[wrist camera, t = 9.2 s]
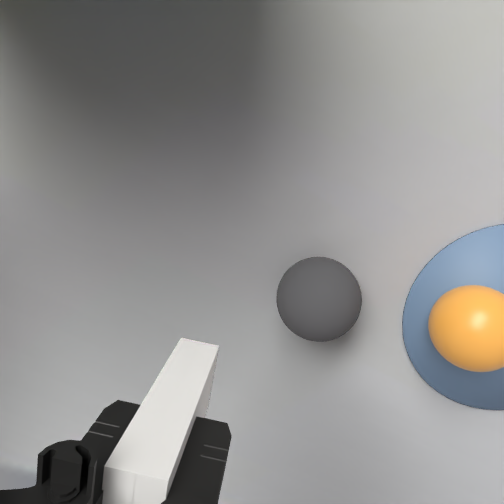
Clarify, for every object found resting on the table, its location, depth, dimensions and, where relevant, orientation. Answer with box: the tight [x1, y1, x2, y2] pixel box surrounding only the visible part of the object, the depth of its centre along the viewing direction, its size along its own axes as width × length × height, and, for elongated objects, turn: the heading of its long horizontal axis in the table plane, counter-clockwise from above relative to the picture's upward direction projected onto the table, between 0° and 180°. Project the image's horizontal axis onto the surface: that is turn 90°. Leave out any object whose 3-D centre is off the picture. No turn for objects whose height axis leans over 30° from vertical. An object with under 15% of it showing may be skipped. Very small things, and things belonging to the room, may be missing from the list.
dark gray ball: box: [277, 257, 362, 341], centre depth 27 cm, size 6×6×6 cm
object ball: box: [428, 285, 504, 372], centre depth 26 cm, size 6×6×6 cm
